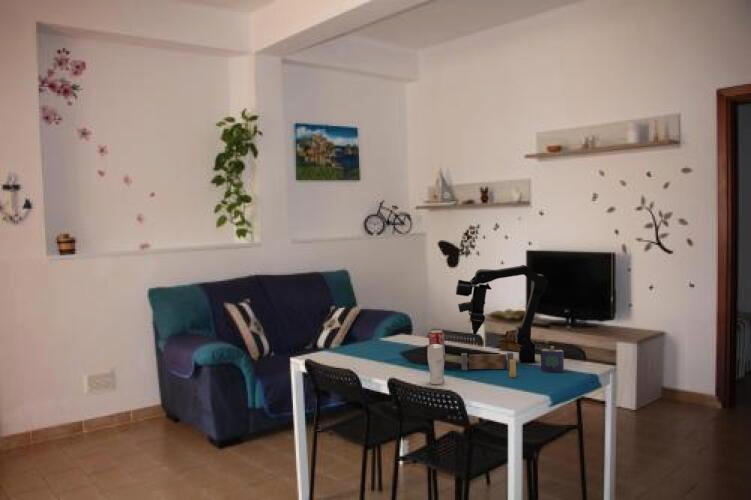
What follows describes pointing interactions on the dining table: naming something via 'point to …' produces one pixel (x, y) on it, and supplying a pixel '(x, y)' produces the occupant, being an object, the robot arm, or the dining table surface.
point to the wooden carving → (509, 341)
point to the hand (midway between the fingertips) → (473, 332)
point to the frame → (510, 363)
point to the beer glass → (436, 363)
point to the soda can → (436, 337)
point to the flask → (552, 360)
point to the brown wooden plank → (488, 361)
